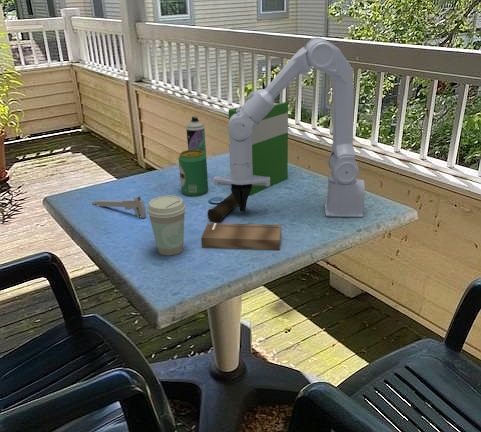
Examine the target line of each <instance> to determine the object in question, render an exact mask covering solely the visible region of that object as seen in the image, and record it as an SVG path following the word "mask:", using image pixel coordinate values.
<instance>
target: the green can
mask: <svg viewBox="0 0 481 432" xmlns="http://www.w3.org/2000/svg"><path fill="white" fill-rule="evenodd" d="M206 161H207V155H206V156H205V154H204V152H203V151H201V150H188V149H187V150H184V151H181V152H180V153H179V157H178V169H179V177H180V179H179V181H180V190H181V192H182V193H183V194H184V196H187V197H200V196H203V195H205V194H206V193H207V192H208V189H209V181H208V179H209V178H208V166H207V165H208V162H207V163H206ZM207 178H208V179H207Z"/></svg>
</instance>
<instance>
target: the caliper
mask: <svg viewBox="0 0 481 432" xmlns="http://www.w3.org/2000/svg"><path fill="white" fill-rule="evenodd" d="M95 204H96V205H99V206H98V207H115V208H124V210H125V211H127V210H133V212H134V214H135V215H136V217H137V218H138V217H139V218H143V219H145V218H146V217H147V212H146V206H145V203H144V200H143V199H141V196H140V195H139V196H137V195H136V196H134V197H133V199H123V200H108V199H107V200H103V199H97V200H95V201H93V202H92V203H91V205H95ZM96 205H95V206H96ZM140 216H141V217H140Z"/></svg>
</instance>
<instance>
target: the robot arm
mask: <svg viewBox="0 0 481 432" xmlns="http://www.w3.org/2000/svg"><path fill="white" fill-rule="evenodd" d="M311 67H312V68H313V69H315V70H316V71H317V70H318V71H320V72H322V73H325V74H326V75H327V76H328V77H330V78H331V79H332V80H331V81H332V82H331V86H332V87H331V88H332V95H331V96H332V144H331V153H330V155H329V156H328V159H327V165H328V167H329V168H330V170H331V172H330V173H329V175H328V177H327V195H326V196H327V197H326V203H324V211H325V217H332V218H333V217H335V218H336V217H338V218H340V217H341V218H345V217H346V218H363V217H364V206H365V196H366V194H365V192H366V189H365V187H366V185H365V179H360V178H358V177H359V174H360V168H359V165H358V163H357V161H356V153H355V147H354V70H353V69H354V68H353V67H352V65H351V64H350V63H349V61H348V60H347V59H346V57H345V56H344V54H343V52H342V51H341V49H340V47H337V46H336V45H334V44H333V43H332V42H330V41H328V40H326V39H324V38H322V37H314V38H312V39H309V41H307V42H306V44H305V46H302V47H301V48H300V49H298V50H297V52H296V53H295V54H294V55H292V57H291V58H290V59H289V60H288V61H287V63H286V64H285V65H284V66H283V67H282V69H281V70H280V71H279V72H278V73H277V75H276V76H275V77H274V78H273V79H272V80H271V82H270V83H269V84H268V85H267V86H266V88H263V89H257V90H255V91H251V92H250V93H249V94H248V97H249V98H248V99H247V100H246V102H244V104H243V105H242V106H240V107H241V108H238V107H237V108H238V109H237V110H236V112H237V114H234V115H233V116H231V118H230V120H229V119H228V124H227V125H228V126H227V131H228V134H230V135H229V137H228V138H229V141H228V142H229V145H228V147H229V150H228V151H229V167H230V168H229V169H230V174H227V175H219V176H218V175H215V176H214V177H213V186H215V187H216V186H217V187H218V186H231V189H230V190H231V193H233V195H234V196H235V198H236V200H237V203H238V204H237V206H238V208H239V213H245V212H246V210H247V203H248V199H249V197H250V196H249V194H250V192H251V189H252V186H253V185H265V186H270V177H263V176H256V175H253V166H252V143H251V134H252V127H254V126H256V125H257V124H258V123H259V122H260V121H261V120H262V119H263V118H264V117H265V116H266V115H267V114H268V113H269V112H270V111H271V109H272V108H273V107H274V105H275V104H274V103H275V98H277V97H278V96H279V94H281V92H282V91H284V90H285V89H286V88H287V87H288V86H289V85H290V84H291V82H293V81H294V80H295V79H296V78H297V77H298V76H299V75H303V74H308V73H311V72H312V69H311Z"/></svg>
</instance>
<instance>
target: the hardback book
mask: <svg viewBox="0 0 481 432" xmlns="http://www.w3.org/2000/svg"><path fill="white" fill-rule="evenodd" d="M274 104H275V105H274V107H273V108H272V109H271V111H270V112H269V113H268V114H267V115H266V116H265V117H264V118H263V119H262V120H261V121H260V122H259V123H258V124H257V125H256V126H254V127H252V134H251V143H252V166H253V175H256V176H263V177H270V186H265V185H253V186H252V189H251V192H250V194H249V196H248V197H251V196H254V195H255V194H258V193H260V192H262V191H264V190H266V189H269V188H272V187H273V186H275V185H278V184H280V183H282V182H285V181H287V180H288V179H289V178H288V173H289V172H288V169H289V168H288V165H289V164H288V161H289V159H288V158H289V157H288V156H289V102H288V101H284V102H280V103H276V102H274ZM241 107H242V106H239V107H235V108H231V109H228V121H229V120H230V118H231V116H233V115H234V114H237V112H236V110H237V109H238V108H241ZM228 134H229V133H228ZM228 136H230V134H229V135H228Z"/></svg>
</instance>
